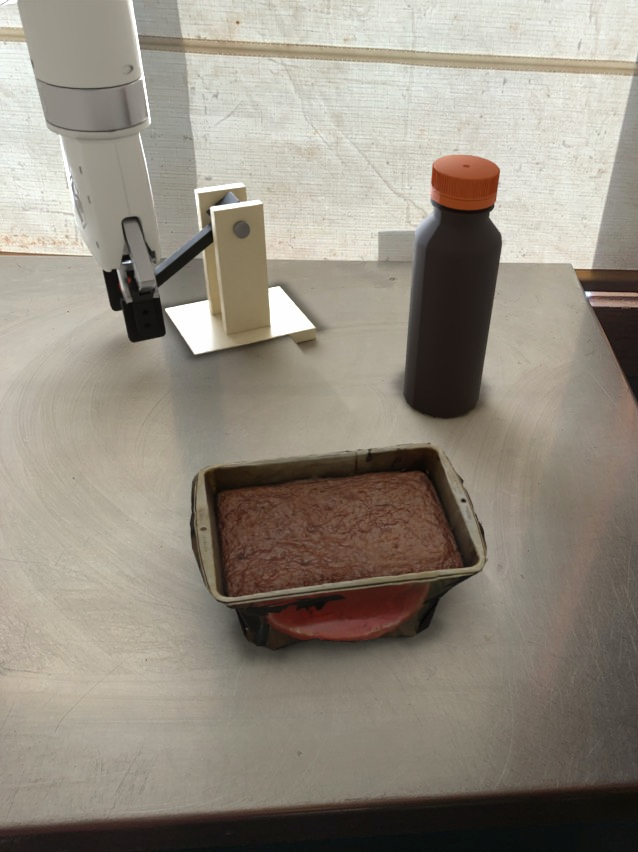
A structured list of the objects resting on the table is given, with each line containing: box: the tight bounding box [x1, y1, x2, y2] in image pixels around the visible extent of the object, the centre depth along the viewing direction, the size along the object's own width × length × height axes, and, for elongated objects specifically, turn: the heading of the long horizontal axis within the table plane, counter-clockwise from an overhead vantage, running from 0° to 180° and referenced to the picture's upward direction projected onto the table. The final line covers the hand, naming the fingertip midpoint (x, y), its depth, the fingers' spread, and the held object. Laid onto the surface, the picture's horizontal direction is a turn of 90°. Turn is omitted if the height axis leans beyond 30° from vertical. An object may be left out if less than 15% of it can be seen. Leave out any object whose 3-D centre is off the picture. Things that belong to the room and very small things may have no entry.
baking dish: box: [189, 442, 488, 651], centre depth 52 cm, size 14×18×10 cm
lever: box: [119, 192, 240, 292], centre depth 69 cm, size 13×5×2 cm
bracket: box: [164, 182, 317, 356], centre depth 72 cm, size 12×9×13 cm
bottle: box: [402, 154, 503, 419], centre depth 64 cm, size 7×7×20 cm
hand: (137, 320), depth 71 cm, fingers closed on lever, 5 cm apart
